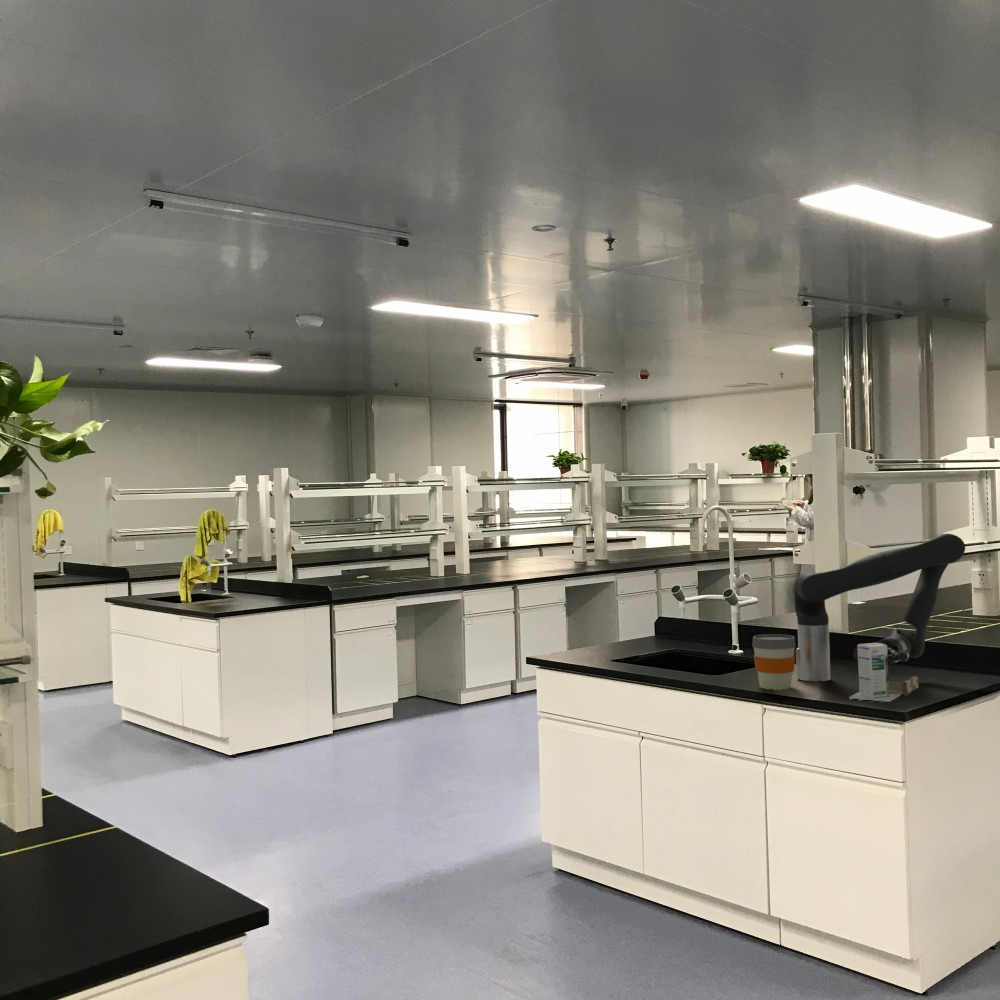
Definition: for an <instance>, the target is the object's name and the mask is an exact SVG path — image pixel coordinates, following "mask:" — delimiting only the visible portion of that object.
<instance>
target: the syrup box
mask: <svg viewBox="0 0 1000 1000" xmlns="http://www.w3.org/2000/svg"><path fill="white" fill-rule="evenodd" d="M856 647H857V648H858V661H857V665H858V685H859V687H858V688H859V689H858V690H859V692H860V695H863V696H866V697H870V698H876V697H886V696H889V681H890V679H889V678H890V677H889V665H888V655H887V645H885V644H882V643H877V642H871V643H859V644H857V646H856Z"/></svg>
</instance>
